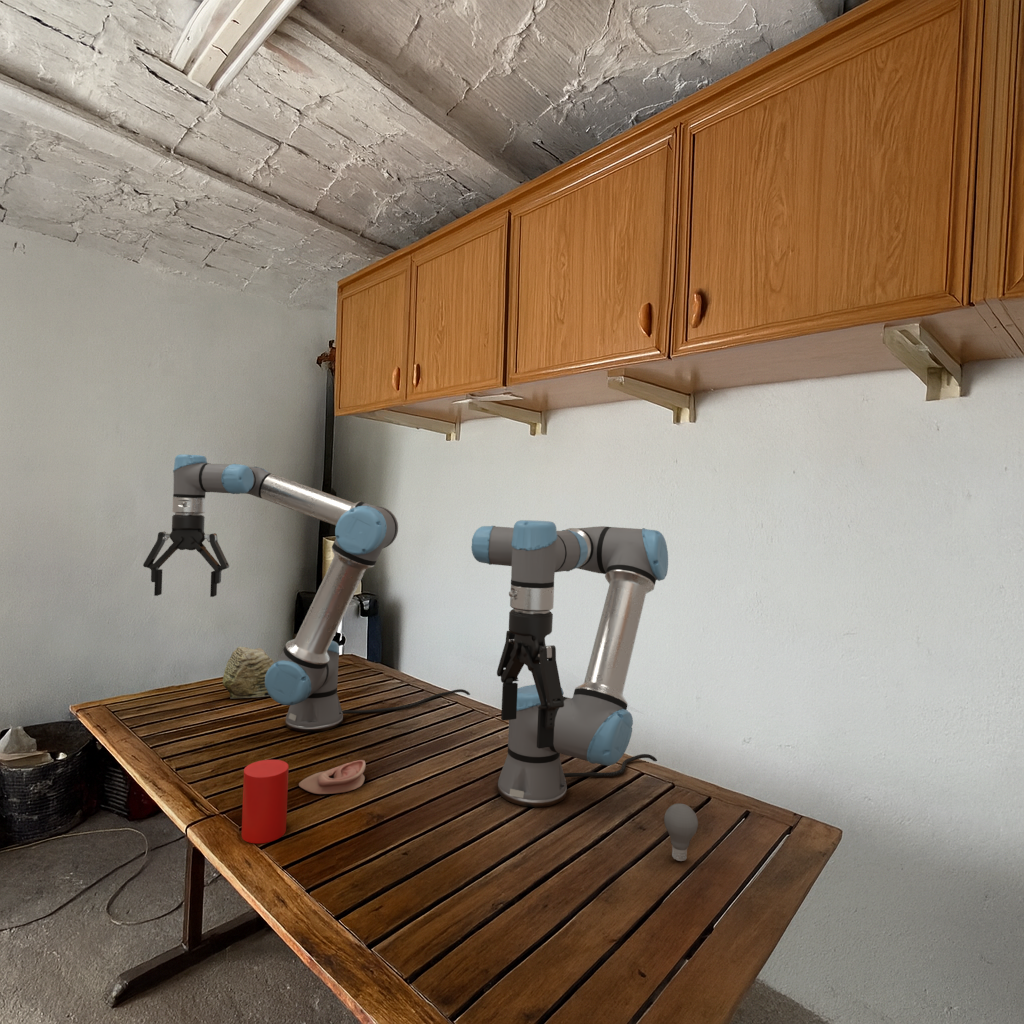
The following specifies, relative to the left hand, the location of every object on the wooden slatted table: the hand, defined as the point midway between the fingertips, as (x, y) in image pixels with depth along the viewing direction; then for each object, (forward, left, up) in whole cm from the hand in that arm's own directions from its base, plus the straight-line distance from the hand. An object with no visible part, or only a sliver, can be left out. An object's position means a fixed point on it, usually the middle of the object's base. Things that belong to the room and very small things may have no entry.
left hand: (185, 595), depth 165 cm
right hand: (-11, +104, -11) cm, 105 cm away
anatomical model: (-9, +53, -36) cm, 65 cm away
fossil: (-29, -15, -36) cm, 49 cm away
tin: (+12, +61, -36) cm, 71 cm away
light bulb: (-34, +123, -36) cm, 133 cm away
